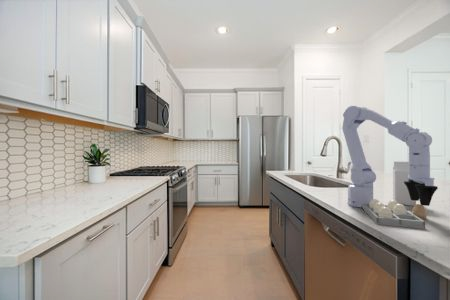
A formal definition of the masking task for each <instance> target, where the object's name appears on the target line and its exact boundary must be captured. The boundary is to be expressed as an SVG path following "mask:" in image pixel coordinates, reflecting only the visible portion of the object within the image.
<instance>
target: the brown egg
mask: <svg viewBox="0 0 450 300" xmlns="http://www.w3.org/2000/svg"><path fill="white" fill-rule="evenodd" d="M411 213H412V214H414V215H415V216H417V217H419V218H420V219H422V220H427V214H428V212H427V209H426V206H424V205H421V204H419V203H416V205H415V206H413V207H412V212H411Z"/></svg>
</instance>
